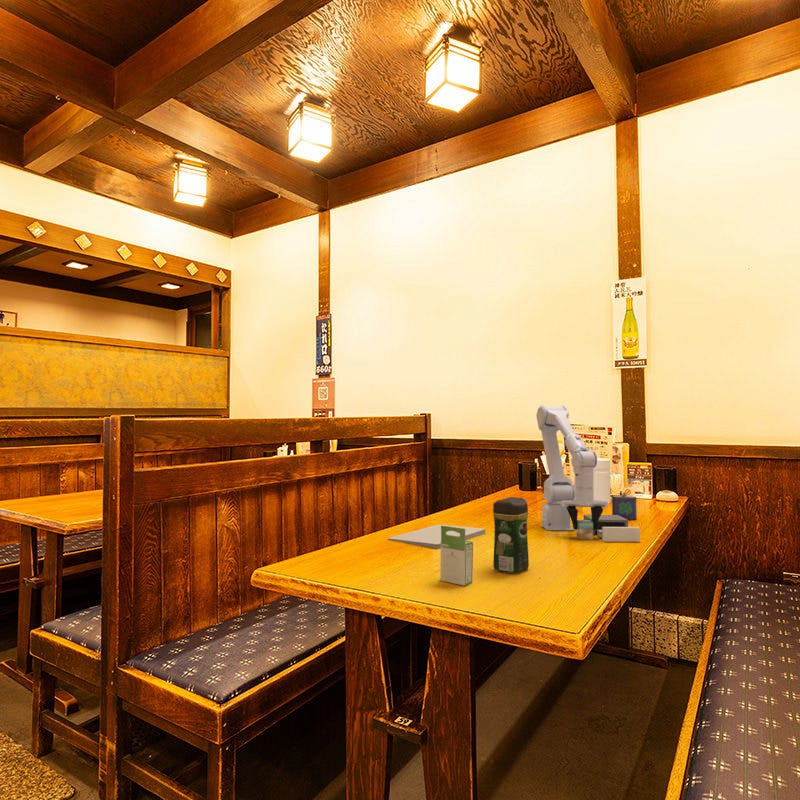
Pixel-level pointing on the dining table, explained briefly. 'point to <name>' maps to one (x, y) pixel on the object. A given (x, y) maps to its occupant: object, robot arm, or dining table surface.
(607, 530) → the tray
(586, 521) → the disc
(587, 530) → the pedestal
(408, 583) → the dining table surface
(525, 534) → the coffee jar
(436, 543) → the electronic device
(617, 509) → the flask
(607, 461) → the canister
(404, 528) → the dining table surface
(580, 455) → the robot arm
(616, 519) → the block
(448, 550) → the ink box
